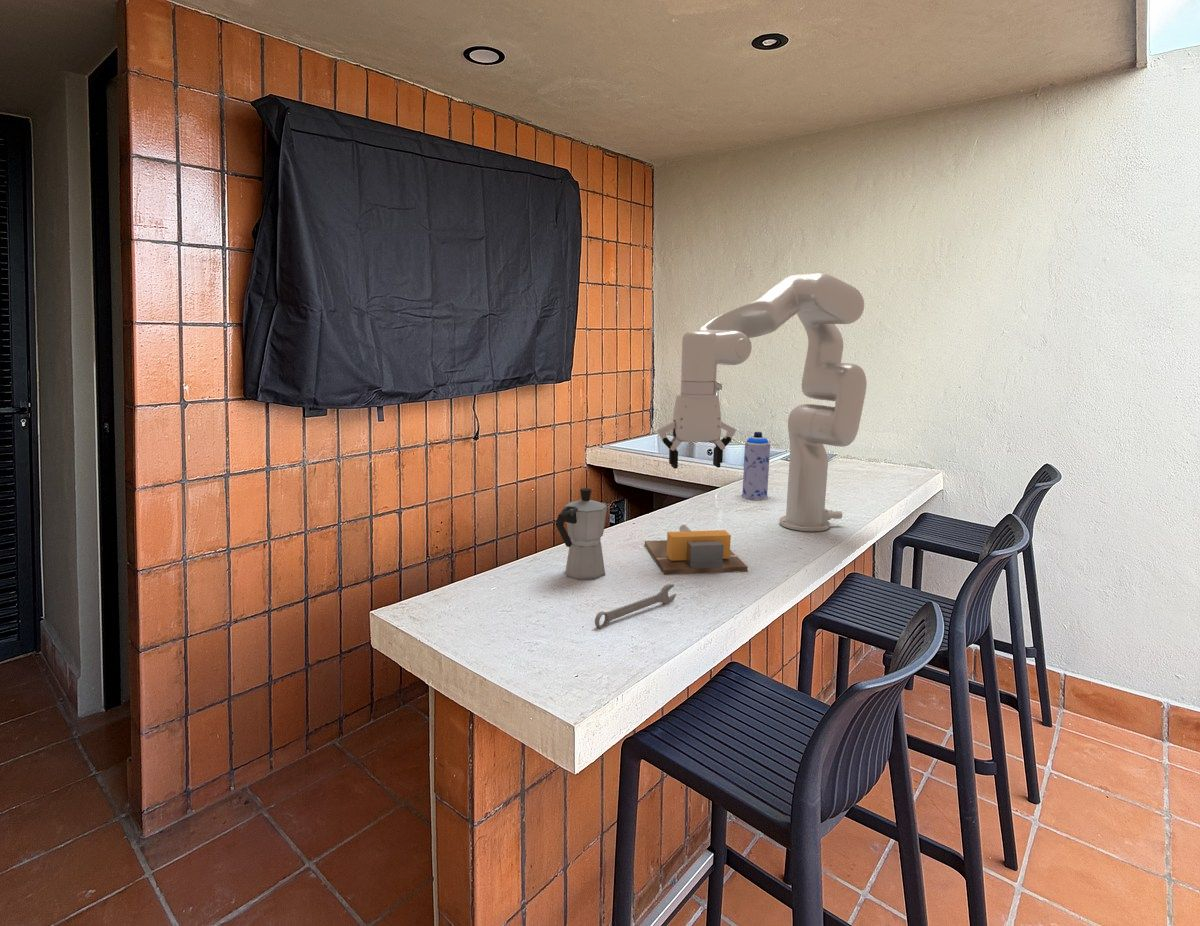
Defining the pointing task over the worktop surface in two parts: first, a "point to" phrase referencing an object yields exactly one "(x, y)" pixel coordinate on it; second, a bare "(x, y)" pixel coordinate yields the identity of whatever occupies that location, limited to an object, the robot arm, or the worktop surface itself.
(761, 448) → the aerosol can
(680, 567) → the pipe board
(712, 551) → the grey block with rod
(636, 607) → the combination wrench
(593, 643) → the worktop surface
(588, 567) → the coffee maker
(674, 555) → the collar
